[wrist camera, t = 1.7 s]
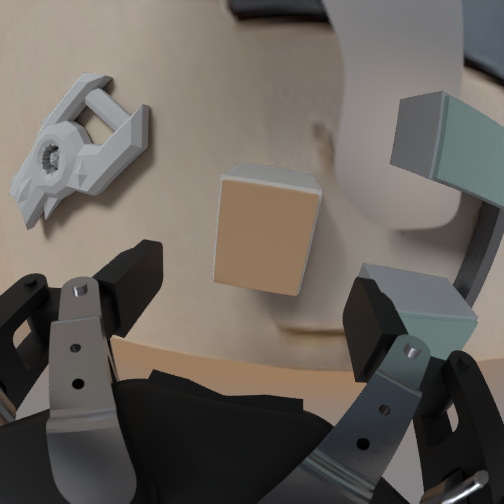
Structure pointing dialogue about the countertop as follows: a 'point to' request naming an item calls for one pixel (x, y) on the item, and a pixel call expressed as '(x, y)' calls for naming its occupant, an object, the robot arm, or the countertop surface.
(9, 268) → the countertop surface
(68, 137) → the grey flat plastic piece
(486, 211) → the rail
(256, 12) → the countertop surface
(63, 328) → the robot arm
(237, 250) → the block
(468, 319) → the block
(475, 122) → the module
